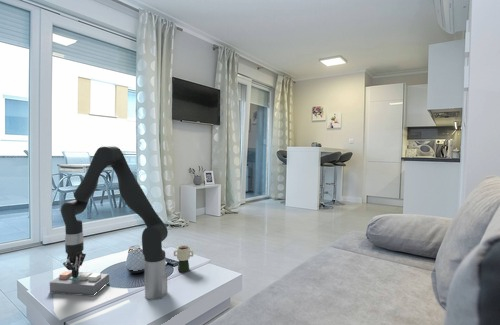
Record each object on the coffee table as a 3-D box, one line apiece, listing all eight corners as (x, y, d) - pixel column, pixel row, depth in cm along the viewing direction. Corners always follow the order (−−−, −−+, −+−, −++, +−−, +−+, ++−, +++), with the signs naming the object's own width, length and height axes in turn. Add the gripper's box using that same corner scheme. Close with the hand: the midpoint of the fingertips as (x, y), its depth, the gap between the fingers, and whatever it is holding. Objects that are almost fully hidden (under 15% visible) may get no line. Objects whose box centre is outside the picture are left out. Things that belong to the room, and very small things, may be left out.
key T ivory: (101, 281, 142) (100, 273, 141) (96, 285, 138) (95, 277, 138) (93, 281, 142) (93, 273, 142) (88, 284, 138) (88, 276, 138)
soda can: (137, 271, 160) (136, 250, 159) (125, 270, 161) (125, 249, 161) (144, 266, 167) (143, 245, 166) (133, 265, 168) (132, 244, 168)
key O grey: (91, 281, 142) (91, 273, 142) (86, 284, 139) (86, 276, 138) (84, 280, 143) (84, 272, 142) (78, 284, 139) (78, 276, 139)
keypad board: (109, 283, 146) (109, 273, 145) (93, 296, 134) (93, 285, 134) (68, 280, 148) (68, 271, 148) (50, 292, 136) (49, 282, 136)
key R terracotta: (72, 279, 143) (72, 271, 143) (66, 283, 140) (66, 275, 139) (65, 279, 144) (65, 271, 144) (59, 282, 140) (59, 274, 140)
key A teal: (82, 283, 143) (81, 275, 143) (76, 286, 139) (76, 278, 139) (74, 282, 143) (74, 274, 143) (69, 286, 140) (69, 278, 139)
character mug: (194, 267, 166) (194, 245, 165) (192, 273, 158) (192, 249, 158) (175, 267, 166) (175, 245, 165) (172, 273, 158) (171, 249, 158)
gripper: (71, 246, 133) (72, 283, 134) (90, 237, 146) (91, 271, 147) (56, 246, 134) (57, 282, 135) (76, 237, 147) (77, 270, 148)
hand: (75, 276), depth 141 cm, fingers closed
